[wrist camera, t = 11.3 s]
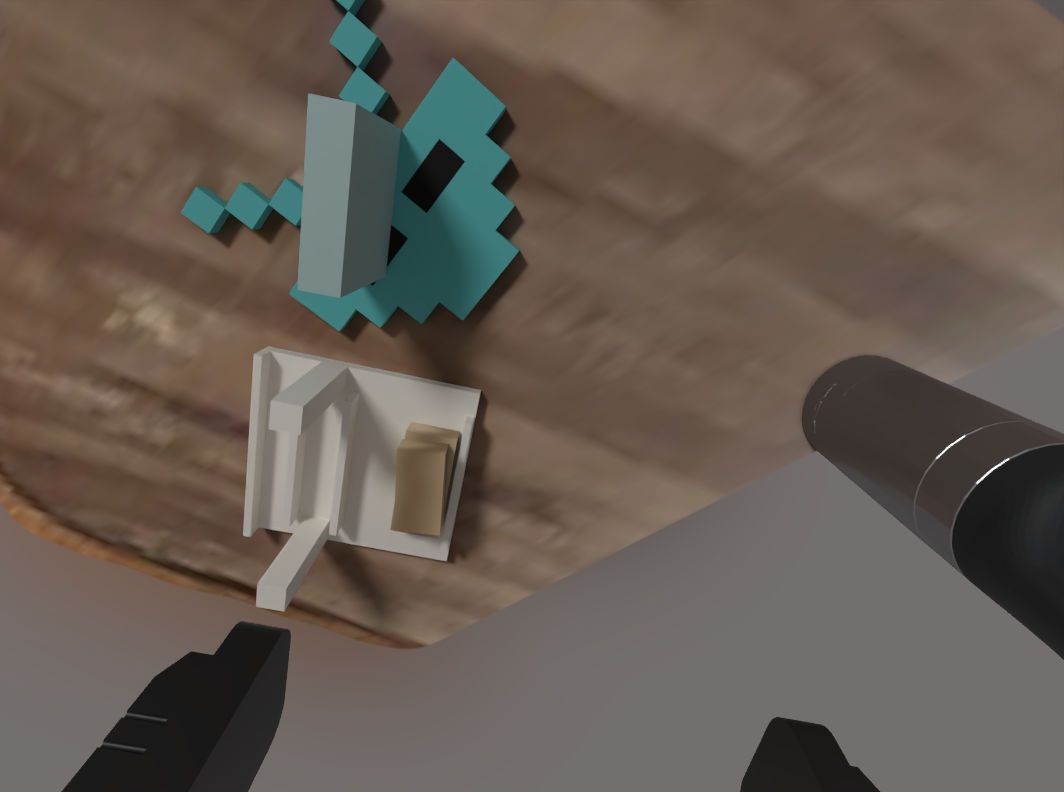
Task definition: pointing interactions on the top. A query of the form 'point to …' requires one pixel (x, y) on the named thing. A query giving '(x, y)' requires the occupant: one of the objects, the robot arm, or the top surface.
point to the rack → (339, 458)
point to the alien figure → (408, 196)
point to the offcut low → (439, 436)
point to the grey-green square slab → (346, 197)
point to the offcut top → (420, 486)
